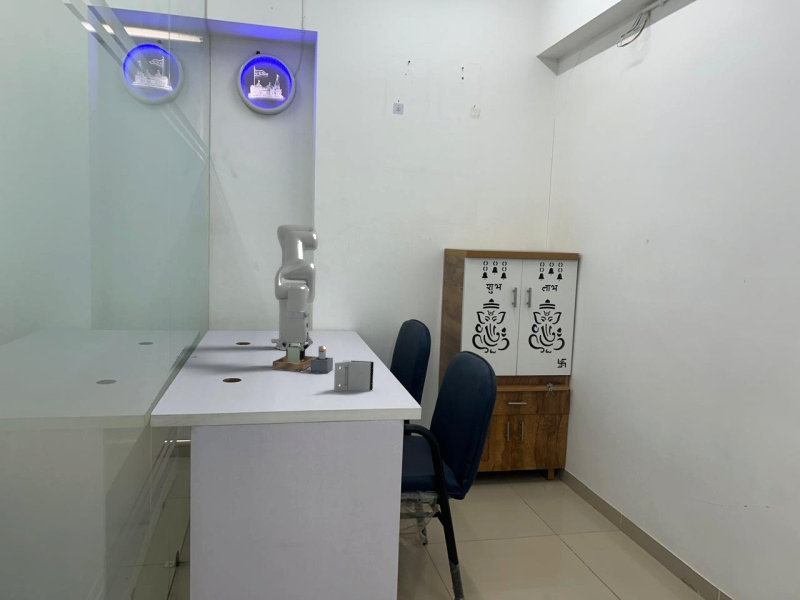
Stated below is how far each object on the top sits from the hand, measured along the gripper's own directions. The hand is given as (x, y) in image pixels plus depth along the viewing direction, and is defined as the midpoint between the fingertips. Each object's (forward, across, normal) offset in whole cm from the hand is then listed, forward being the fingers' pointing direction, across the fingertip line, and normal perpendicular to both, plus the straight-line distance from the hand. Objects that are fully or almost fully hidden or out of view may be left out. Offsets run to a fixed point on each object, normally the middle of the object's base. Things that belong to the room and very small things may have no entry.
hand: (295, 358), depth 233 cm
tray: (+3, 0, 0) cm, 3 cm away
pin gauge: (+3, -13, +4) cm, 14 cm away
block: (+3, -13, +4) cm, 14 cm away
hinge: (+4, -33, +28) cm, 44 cm away
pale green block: (+1, 0, 0) cm, 1 cm away
